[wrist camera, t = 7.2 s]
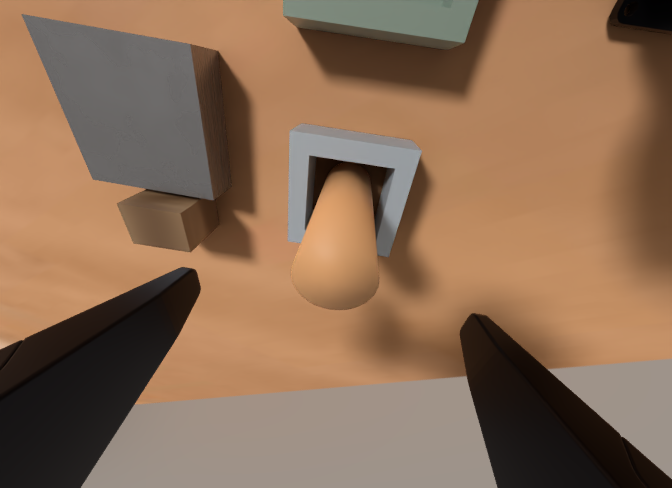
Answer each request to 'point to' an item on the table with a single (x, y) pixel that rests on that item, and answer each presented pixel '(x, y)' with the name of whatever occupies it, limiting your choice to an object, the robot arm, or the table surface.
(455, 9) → the tray
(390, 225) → the socket block
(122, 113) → the grey slab
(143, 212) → the block
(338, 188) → the dowel
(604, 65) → the table surface
